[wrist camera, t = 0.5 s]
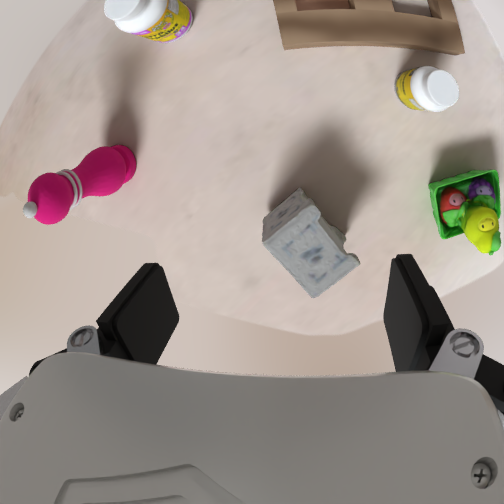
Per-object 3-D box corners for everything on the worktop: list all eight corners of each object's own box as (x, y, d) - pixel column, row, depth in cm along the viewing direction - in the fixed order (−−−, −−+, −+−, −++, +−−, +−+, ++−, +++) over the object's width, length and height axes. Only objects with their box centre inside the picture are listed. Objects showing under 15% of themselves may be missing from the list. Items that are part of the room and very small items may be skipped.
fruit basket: (479, 159, 30) (524, 182, 20) (485, 213, 33) (523, 246, 23) (418, 177, 33) (454, 205, 24) (428, 232, 37) (459, 273, 27)
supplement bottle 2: (402, 63, 26) (433, 52, 18) (435, 86, 27) (471, 85, 18) (386, 94, 29) (413, 92, 21) (419, 117, 29) (453, 124, 21)
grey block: (351, 231, 39) (364, 271, 30) (306, 262, 43) (305, 306, 34) (309, 178, 37) (312, 204, 28) (263, 214, 40) (250, 249, 31)
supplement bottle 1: (153, 50, 30) (97, 37, 19) (148, 13, 27) (94, -8, 16) (197, 35, 29) (152, 12, 18) (191, -2, 26) (147, -34, 15)
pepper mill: (107, 136, 38) (7, 172, 20) (143, 148, 38) (44, 192, 21) (100, 177, 41) (10, 229, 24) (134, 191, 42) (46, 253, 24)
